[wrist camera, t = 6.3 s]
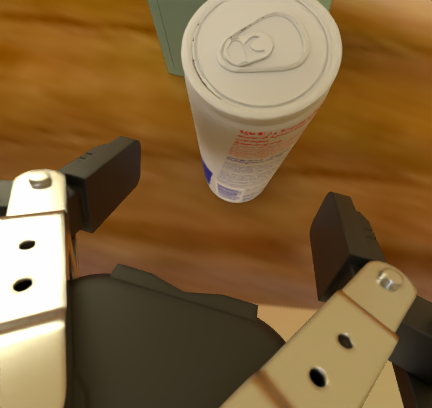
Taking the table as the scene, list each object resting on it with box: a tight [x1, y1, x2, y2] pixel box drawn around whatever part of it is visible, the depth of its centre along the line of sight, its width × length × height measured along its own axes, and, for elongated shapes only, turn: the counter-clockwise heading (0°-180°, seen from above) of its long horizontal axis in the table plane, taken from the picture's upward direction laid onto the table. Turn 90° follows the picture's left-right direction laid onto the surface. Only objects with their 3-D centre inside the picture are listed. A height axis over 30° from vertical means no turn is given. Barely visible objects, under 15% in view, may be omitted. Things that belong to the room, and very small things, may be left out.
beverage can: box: [181, 0, 342, 203], centre depth 16 cm, size 6×6×15 cm
